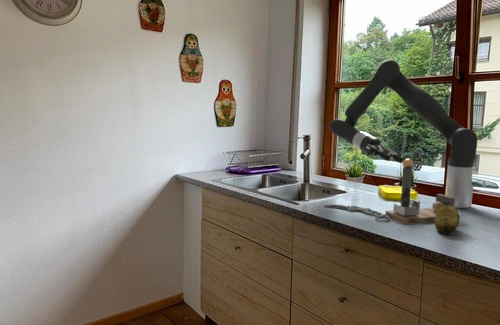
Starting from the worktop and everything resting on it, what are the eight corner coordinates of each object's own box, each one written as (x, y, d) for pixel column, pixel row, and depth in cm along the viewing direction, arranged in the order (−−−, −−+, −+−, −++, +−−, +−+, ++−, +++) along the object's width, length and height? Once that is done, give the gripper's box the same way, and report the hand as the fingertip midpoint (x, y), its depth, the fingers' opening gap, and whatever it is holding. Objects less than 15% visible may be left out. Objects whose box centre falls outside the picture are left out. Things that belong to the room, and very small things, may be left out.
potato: (425, 231, 120) (427, 208, 119) (438, 223, 129) (440, 202, 128) (453, 238, 114) (455, 213, 113) (464, 229, 123) (466, 206, 122)
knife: (322, 204, 150) (338, 200, 156) (322, 208, 151) (338, 203, 157) (384, 222, 128) (399, 215, 134) (384, 226, 128) (399, 219, 134)
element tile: (383, 200, 165) (384, 190, 164) (377, 193, 179) (377, 184, 179) (418, 202, 162) (419, 192, 162) (409, 195, 177) (409, 185, 176)
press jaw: (405, 210, 138) (409, 157, 135) (419, 215, 131) (423, 159, 128) (392, 211, 136) (396, 157, 133) (405, 216, 129) (409, 160, 127)
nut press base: (435, 212, 144) (436, 192, 143) (457, 220, 134) (459, 199, 132) (385, 216, 138) (386, 195, 137) (404, 224, 127) (406, 202, 126)
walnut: (438, 210, 140) (439, 200, 139) (446, 212, 136) (447, 202, 136) (429, 210, 139) (430, 200, 138) (437, 213, 135) (438, 203, 134)
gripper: (359, 132, 148) (389, 148, 135) (380, 137, 156) (410, 153, 143) (351, 148, 150) (380, 166, 138) (372, 153, 158) (402, 170, 146)
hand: (396, 159), depth 141 cm, fingers open, 8 cm apart
